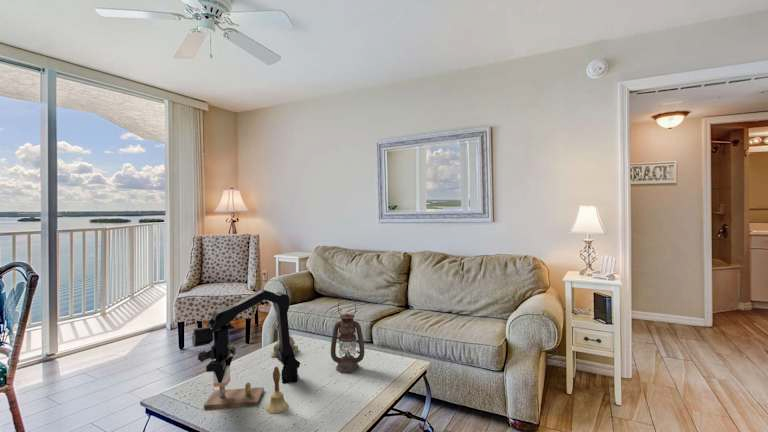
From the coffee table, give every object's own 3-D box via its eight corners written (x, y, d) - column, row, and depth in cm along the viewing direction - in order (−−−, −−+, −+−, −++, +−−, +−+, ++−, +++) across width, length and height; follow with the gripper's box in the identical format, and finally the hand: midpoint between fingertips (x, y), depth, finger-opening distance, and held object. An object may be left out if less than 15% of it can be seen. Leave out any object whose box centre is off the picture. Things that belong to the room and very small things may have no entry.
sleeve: (230, 380, 151) (230, 365, 151) (226, 385, 146) (226, 370, 146) (217, 381, 151) (217, 366, 151) (213, 386, 146) (213, 371, 146)
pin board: (263, 390, 156) (263, 375, 156) (257, 405, 144) (257, 389, 144) (214, 393, 154) (214, 378, 154) (203, 409, 142) (203, 392, 142)
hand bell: (282, 414, 138) (281, 372, 137) (261, 412, 139) (261, 370, 139) (292, 403, 146) (291, 363, 145) (272, 401, 147) (272, 361, 147)
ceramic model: (282, 360, 189) (282, 340, 189) (267, 356, 194) (266, 337, 194) (301, 351, 201) (301, 332, 201) (286, 347, 206) (286, 329, 206)
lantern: (363, 373, 172) (363, 298, 172) (329, 373, 172) (328, 299, 172) (365, 363, 183) (364, 293, 183) (332, 364, 183) (331, 293, 183)
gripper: (208, 334, 156) (209, 371, 157) (191, 351, 138) (191, 392, 138) (235, 333, 158) (236, 369, 158) (222, 349, 139) (223, 390, 140)
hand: (222, 379), depth 148 cm, fingers closed on sleeve, 5 cm apart
